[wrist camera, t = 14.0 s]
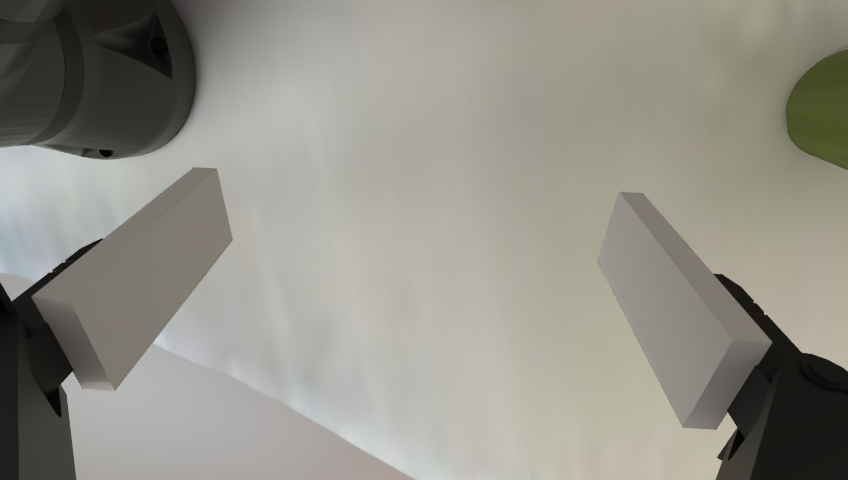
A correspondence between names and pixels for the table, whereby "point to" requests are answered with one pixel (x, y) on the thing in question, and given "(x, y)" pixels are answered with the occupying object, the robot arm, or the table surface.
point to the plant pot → (822, 110)
